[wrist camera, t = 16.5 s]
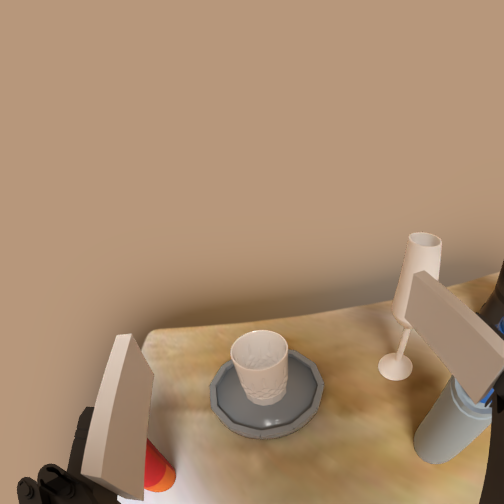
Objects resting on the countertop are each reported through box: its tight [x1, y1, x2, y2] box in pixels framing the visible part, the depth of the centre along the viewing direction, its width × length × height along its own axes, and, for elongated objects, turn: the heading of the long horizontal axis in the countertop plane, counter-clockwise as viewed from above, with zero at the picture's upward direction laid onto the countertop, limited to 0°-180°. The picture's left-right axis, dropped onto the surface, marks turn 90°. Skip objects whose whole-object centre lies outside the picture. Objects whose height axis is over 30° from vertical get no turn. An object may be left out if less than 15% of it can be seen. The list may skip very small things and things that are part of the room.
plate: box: [210, 349, 324, 440], centre depth 40 cm, size 18×18×2 cm
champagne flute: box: [378, 232, 442, 381], centre depth 34 cm, size 7×7×24 cm
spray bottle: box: [414, 317, 504, 464], centre depth 18 cm, size 9×9×25 cm
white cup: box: [230, 330, 288, 406], centre depth 37 cm, size 8×8×10 cm
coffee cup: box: [144, 438, 176, 492], centre depth 23 cm, size 8×8×15 cm
